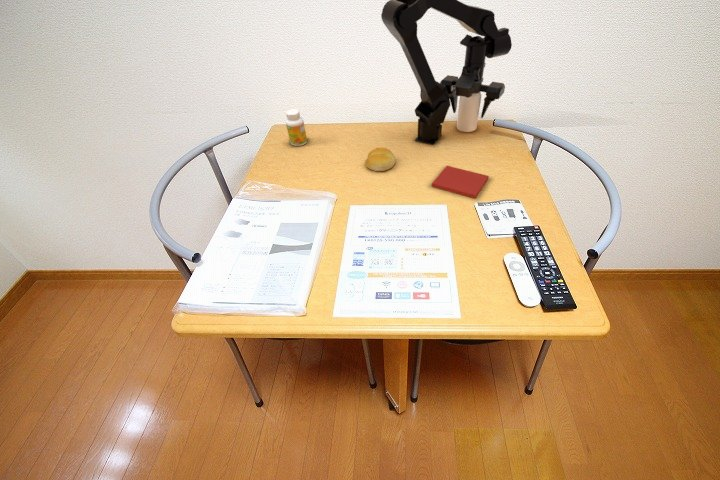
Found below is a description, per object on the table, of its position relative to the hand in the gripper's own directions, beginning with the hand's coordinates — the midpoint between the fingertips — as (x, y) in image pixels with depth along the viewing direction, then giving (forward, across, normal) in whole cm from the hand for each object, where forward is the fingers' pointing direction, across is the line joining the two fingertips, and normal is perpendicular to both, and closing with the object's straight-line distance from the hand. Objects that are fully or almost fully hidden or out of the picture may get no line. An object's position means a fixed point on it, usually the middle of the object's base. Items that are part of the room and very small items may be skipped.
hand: (468, 115), depth 115 cm
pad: (+4, +10, -31) cm, 33 cm away
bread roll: (+4, -14, -32) cm, 35 cm away
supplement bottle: (+4, -44, -32) cm, 55 cm away
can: (+4, 0, 0) cm, 5 cm away
